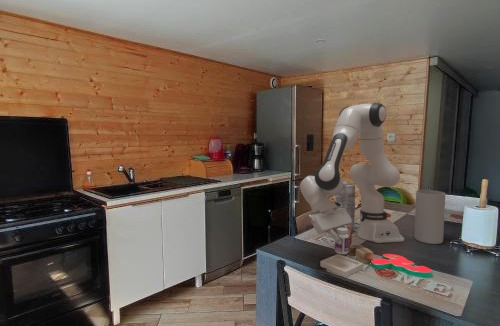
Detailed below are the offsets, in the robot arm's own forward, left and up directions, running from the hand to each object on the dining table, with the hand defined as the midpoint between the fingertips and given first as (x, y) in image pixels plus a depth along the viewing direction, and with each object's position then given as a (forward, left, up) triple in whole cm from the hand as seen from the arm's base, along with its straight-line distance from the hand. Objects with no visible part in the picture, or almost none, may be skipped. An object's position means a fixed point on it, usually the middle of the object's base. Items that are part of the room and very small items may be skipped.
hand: (343, 238), depth 114 cm
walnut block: (-10, -13, -13) cm, 21 cm away
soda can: (-6, -21, -13) cm, 25 cm away
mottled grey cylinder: (-15, -54, -13) cm, 57 cm away
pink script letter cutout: (-24, 0, -13) cm, 27 cm away
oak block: (-11, -7, -13) cm, 18 cm away
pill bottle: (0, 0, -6) cm, 6 cm away
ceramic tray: (0, -1, -13) cm, 13 cm away
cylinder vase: (-52, -34, -13) cm, 63 cm away
